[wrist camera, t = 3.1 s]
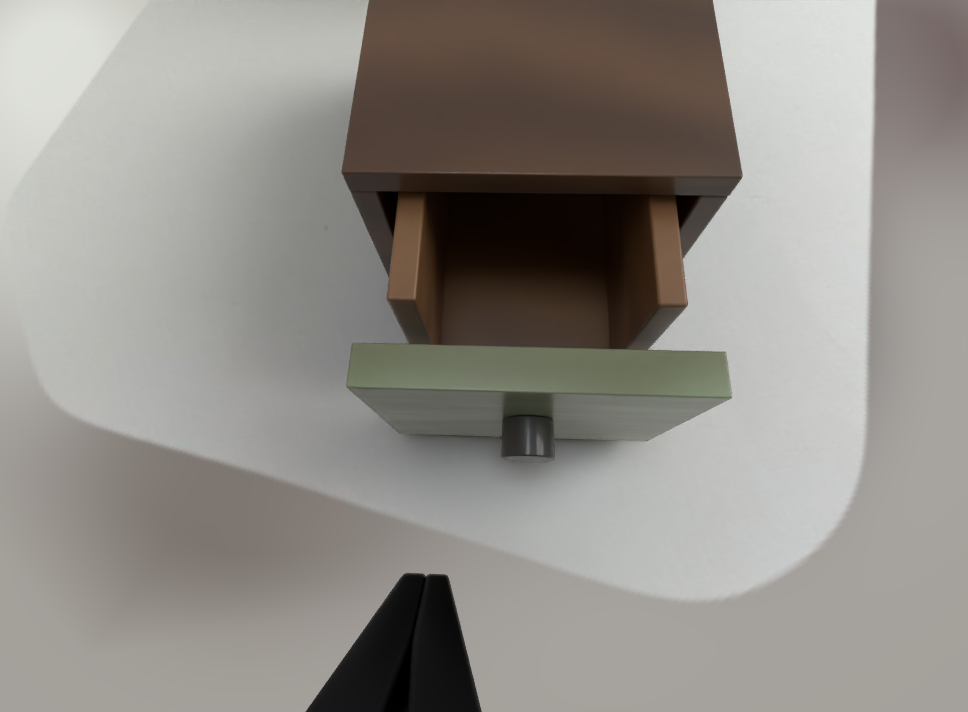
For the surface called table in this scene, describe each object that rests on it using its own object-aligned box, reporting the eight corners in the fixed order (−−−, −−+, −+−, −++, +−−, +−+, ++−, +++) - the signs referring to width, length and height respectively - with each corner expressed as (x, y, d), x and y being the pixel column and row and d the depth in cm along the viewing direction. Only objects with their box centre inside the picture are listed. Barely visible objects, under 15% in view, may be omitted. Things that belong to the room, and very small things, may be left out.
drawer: (650, 474, 17) (740, 448, 11) (396, 465, 18) (339, 436, 11) (627, 168, 22) (681, 22, 15) (423, 166, 22) (393, 22, 16)
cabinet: (645, 312, 20) (743, 176, 12) (401, 307, 21) (340, 172, 13) (626, 74, 25) (689, -142, 17) (424, 73, 25) (390, -139, 17)
